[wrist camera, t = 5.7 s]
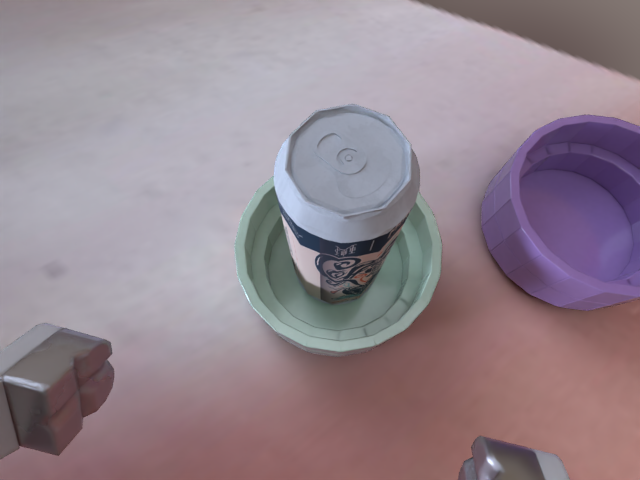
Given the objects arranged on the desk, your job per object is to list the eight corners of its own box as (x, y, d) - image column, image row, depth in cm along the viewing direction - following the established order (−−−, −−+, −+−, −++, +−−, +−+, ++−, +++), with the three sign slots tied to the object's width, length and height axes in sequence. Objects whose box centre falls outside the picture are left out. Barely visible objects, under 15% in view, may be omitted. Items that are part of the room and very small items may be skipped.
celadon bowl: (218, 306, 23) (195, 289, 19) (299, 168, 26) (294, 127, 22) (379, 389, 21) (393, 391, 17) (444, 232, 24) (470, 201, 20)
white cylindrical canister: (339, 324, 22) (359, 264, 11) (278, 269, 23) (237, 163, 12) (392, 262, 23) (459, 150, 12) (331, 213, 24) (340, 68, 13)
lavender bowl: (455, 265, 24) (484, 239, 19) (506, 136, 27) (540, 89, 23) (627, 342, 22) (699, 332, 18) (660, 195, 25) (728, 158, 21)
